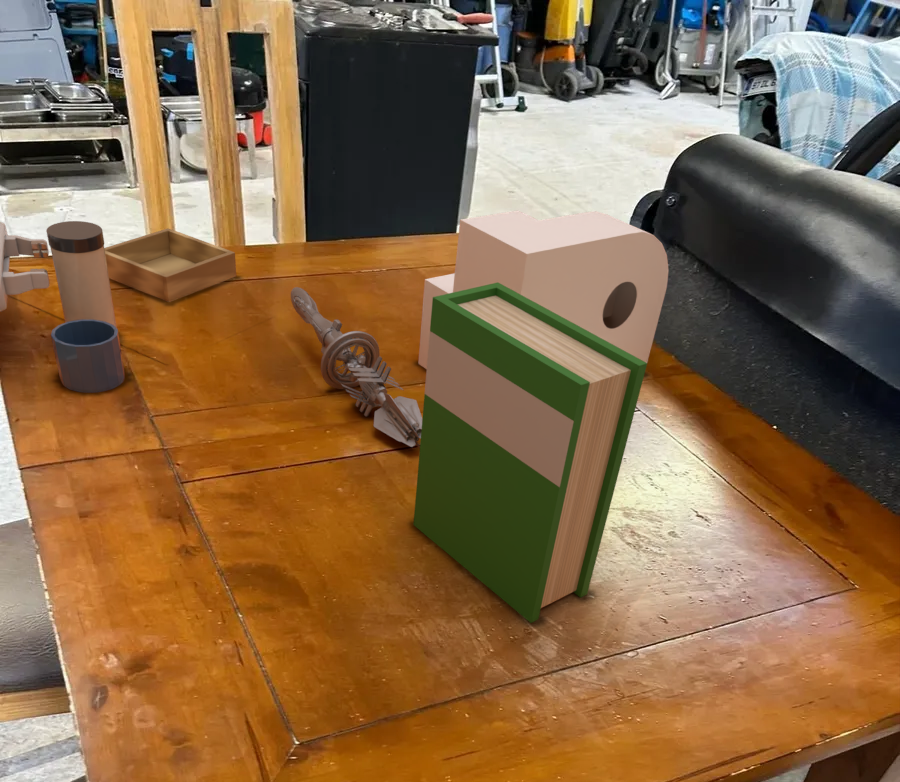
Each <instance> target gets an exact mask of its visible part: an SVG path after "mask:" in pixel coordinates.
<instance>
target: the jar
mask: <svg viewBox="0 0 900 782" xmlns="http://www.w3.org/2000/svg"><path fill="white" fill-rule="evenodd" d="M45 230H46V231H45V232H46V237H47V243H48V247H49V248H50V253H51V258H52V262H53V269H54V271H55V272H54V273H55V277H56V283H57V287H58V293H59V298H60V303H61V308H62V313H63V319H64V323H66V322H69V321H74V320H81V319H93V320H100V321H105V322H108V323H110V324H112V325H114V326H115V327H116V328H117V329H118V326H117V320H116V314H115V307H114V301H113V295H112V288H111V281H110V278H109V275H108V268H107V262H106V256H105V249H104V248H105V238H104V232H103V228H102V227H101V226H100V225H98V224H96V223H93V222H88V221H80V220H68V221H60V222H57V223H53V224H51V225H49V226H48V227H46V229H45Z"/></svg>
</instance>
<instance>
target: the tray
mask: <svg viewBox="0 0 900 782" xmlns="http://www.w3.org/2000/svg"><path fill="white" fill-rule="evenodd" d="M104 249H105V256H106V262H107V268H108V275H109V280H113V281H115V282H117V283H120V284H122V285H125V286H128V287H130V288H132V289H134V290H137V291H140V292H143V293H145V294H147V295H149V296H151V297H155V298H157V299H160V300H162V301H165V302H167V303H171V302H173V301H176V300H178V299H181V298H183V297H186V296H189V295H192V294H194V293H197V292H200V291H202V290H205V289H207V288H210V287H212V286H215V285H218V284H220V283H223V282H225V281H228V280H231V279H233V278H235V277H237V264H236V252H235V251H232V250H230V249H226V248H224V247H221V246H219V245H215V244H212V243H210V242H207V241H205V240H202V239H199V238H197V237H193V236H191V235H188V234H186V233H183V232H180V231H177V230H175V229H171V228H169V227H168V228H164V229H161V230H158V231H155V232H152V233H148V234H145V235H142V236H138V237H135V238H132V239H129V240H126V241H122V242H119V243H116V244H113V245H109V246H107V247H104Z"/></svg>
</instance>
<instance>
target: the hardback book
mask: <svg viewBox="0 0 900 782" xmlns="http://www.w3.org/2000/svg"><path fill="white" fill-rule="evenodd" d="M647 366H648V362H647V363H646V362H644V361H642V360H640V359H639V358H637V357H635V356H633V355H631V354H629V353H627V352H626V351H624V350H622V349H620V348H618V347H616V346H615V345H613V344H611V343H609V342H607V341H605V340H603V339H602V338H600V337H598V336H596V335H594V334H592V333H591V332H589V331H587V330H585V329H583V328H581V327H579V326H578V325H576V324H574V323H572V322H570V321H568V320H567V319H565V318H563V317H561V316H559V315H557V314H555V313H554V312H552V311H550V310H548V309H546V308H544V307H543V306H541V305H539V304H537V303H535V302H533V301H531V300H530V299H528V298H526V297H524V296H522V295H520V294H519V293H517V292H515V291H513V290H511V289H509V288H507V287H506V286H504V285H502V284H500V283H498V282H497V283H493V284H489V285H484V286H480V287H475V288H471V289H467V290H462V291H458V292H453V293H449V294H444V295H440V296H436V297H433V301H432V312H431V324H430V336H429V348H428V359H427V369H426V373H425V385H424V396H423V408H422V430H421V438H420V443H419V446H420V448H419V455H418V467H417V478H416V488H415V489H416V490H415V500H414V502H415V503H414V511H413V512H414V514H413V524H412V525H413V526H414V527H415V528H417V529H418V530H419V531H420V532H421V533H422V534H424V535H425V536H426V537H427V538H428V539H430V540H431V541H432V542H433V543H434V544H435V545H436V546H438V547H439V548H440V549H441V550H443V551H444V552H445V553H446V554H448V555H449V556H450V557H451V558H452V559H453V560H455V561H456V562H457V563H458V564H459V565H461V566H462V567H463V568H464V569H466V570H467V572H469V573H470V574H471V575H472V576H474V577H475V578H476V579H477V580H479V581H480V582H481V583H482V584H483V585H485V586H486V587H487V588H488V589H489V590H491V591H492V592H493V593H494V594H495V595H497V596H498V597H499V598H500V600H503V601H504V602H505V603H506V604H507V605H508V606H510V607H511V608H512V609H513V610H515V611H516V612H517V613H518V614H519V615H520V616H521V617H522V618H524V619H525V620H526V621H527V622H529V623H530V624H533V623H534V622H536V621H538V620H539V618H540V613H541V609H542V608H544V607H546V606H548V605H551V604H552V603H554V602H556V601H559V600H560V599H563V598H564V597H567V596H568V595H570V594H572V593H573V594H575V595H576V596H577V597H578V598H583V597H585V596H587V595H588V592H589V589H590V585H591V581H592V578H593V574H594V570H595V565H596V562H597V558H598V555H599V550H600V548H601V547H600V546H601V543H602V538H603V535H604V530H605V528H606V524H607V520H608V517H609V516H608V515H609V511H610V509H611V505H612V500H613V497H614V493H615V490H616V489H615V488H616V484H617V482H618V477H619V473H620V470H621V466H622V461H623V459H624V454H625V451H626V447H627V443H628V438H629V435H630V431H631V427H632V423H633V420H634V416H635V413H636V408H637V404H638V400H639V396H640V392H641V389H642V385H643V381H644V377H645V374H646V371H647V370H646V369H647Z"/></svg>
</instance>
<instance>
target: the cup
mask: <svg viewBox="0 0 900 782" xmlns="http://www.w3.org/2000/svg"><path fill="white" fill-rule="evenodd" d="M50 337H51V338H50V339H51V342H52V347H53V353H54V357H55V362H56V366H57V373H58V376H59V380H60V382H61V384H62V385H63V386H64V387H65V388H66V389H68V390H70V391H74V392H77V393H87V394H88V393H89V394H90V393H91V394H92V393H102V392H106V391H110V390H113V389H115V388H117V387H119V386H120V385H121V384H122V383H124V381H125V378H126V377H125V367H124V359H123V353H122V347H121V340H120V334H119V329H118V327H117V328H116V327H115V326H114V325H112V324H110V323H108V322H105V321H100V320H93V319H81V320H74V321H69V322H66V323H65V322H63V323H61V324H58V325H57V326H56V327H54V328H53V329H52V330H51V334H50Z"/></svg>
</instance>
